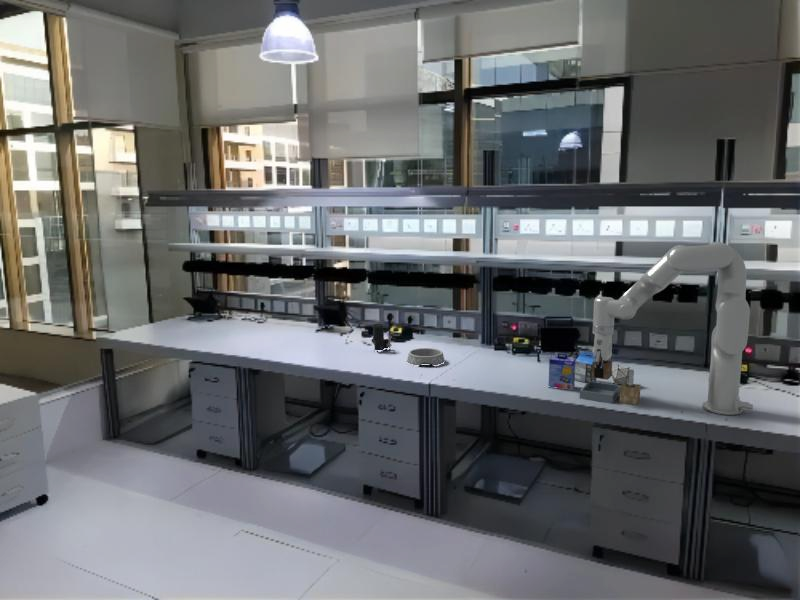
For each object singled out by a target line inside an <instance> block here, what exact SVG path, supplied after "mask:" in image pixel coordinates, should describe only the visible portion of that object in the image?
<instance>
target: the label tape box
mask: <svg viewBox="0 0 800 600" xmlns="http://www.w3.org/2000/svg"><path fill="white" fill-rule="evenodd" d="M578 352H579V353H578V357H577V358H575V381H576V382H581V383H586V384H587V383H588V382H589V381H593V382H597V378H592V362H593V361H594V360H595V359H594V357H593V353H594V352H590V351H589V352H588V351H584V350H579V351H578Z"/></svg>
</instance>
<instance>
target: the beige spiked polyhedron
mask: <svg viewBox="0 0 800 600" xmlns="http://www.w3.org/2000/svg"><path fill="white" fill-rule="evenodd" d="M630 368H631V367H630V366H628V367H624V366H620V365H619V364H617V367H616V368H614V369H613V370H612V376H611V377H612V380H613V383H612V384H613V385H620V386H621V385H622V384H623V383H628V370H629V369H630Z"/></svg>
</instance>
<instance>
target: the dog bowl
mask: <svg viewBox="0 0 800 600" xmlns="http://www.w3.org/2000/svg"><path fill="white" fill-rule="evenodd" d="M444 361H445V357H444V353H443V351H442V350H440V349H437V348H434V347H433V348H430V347H424V348H423V347H422V348H421V347H420V348H415V349H411V350H409V352H408V354H407V360H406V362H408V363H410V364H413V365H419V367H420V366H422V365H421V364H432V365H431V366H433V365H438V364H441V363H443V362H444ZM445 362H446V361H445Z"/></svg>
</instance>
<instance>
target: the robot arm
mask: <svg viewBox="0 0 800 600" xmlns="http://www.w3.org/2000/svg"><path fill="white" fill-rule="evenodd" d="M709 270H716V271H717V275H718V276H717V291H716V292H717V293H716V300H715V311H716V325H715V327H714V328H713V329H712V333H711V339H710V340H711V342H710V343H711V347H710V349H711V352H710V362H709V363H710V364H709V365H710V366H709V377H708V378H709V379H708V390H707V400H706V401H702V402H703V403H702V408H703V409H704V410H706V411H708V412H710V413H714V414H720V415H726V416H727V415H728V416H735V415H736V416H737V415H741V414H742V413H743V410H744V409H746V410H753V409H754V408H753V407H754V404H753V403H750V402H748V401H742V400H740V395H739V394H740V385H741V372H742V360H743V351H744V350H745V349H746V347H747V345H748V339H749V330H750V317H751V314H750V313H751V309H750V305H749V302H748V301H747V300H746V297H747V296H746V295H747V294H746V292H747V268H746V264H745V261H744V259H743V258H742V256H741V255H740V253H739V252H738V251H737V250H735V248H733V247H731V246H730V245H729V244H726V243H724V242H721V241H712V242H710V243H708V244H704V245H702V244H700V245H690V246H688V245H687V246H686V245H683V244H678V245H674V246H673V247H671V248H670V249H669V250H668V251H667V252H666V253H665V254H664V255H662V256H661V258H660V259H659V260H657V261H656V263H654V264H653V265H652V266H651V268H649V269H648V270H647V271H646V272H645V273H643V275H642V276H641V277H640V278H639V279H638V280H637V281H636V282H635V283H634V284H633V285H632V286H631V287H630V288H629V289H628V290H627V291H625V292H624V294H623V295H622V296H621V297H619V298H618V299H614V298H613V297H609V296H608V297H607V296H598V297H595V299H594V301H593V316H592V334H593V335H594V339H593V340H594V341H593V352H592V353H593V357H594V359H595V369H594V377H595V378H596V379H599V378H603V370H604V368H603V362H604V360H605V361H607V360H609V359H611V357H612V354H613V351H612V350H613V337H612V336H613V335H614V327H615V318H616V319H621V320H630V319H632V318H634V316H635V315H636V314H637V311H638V309H639V308H640V307H641V306H642V305H644V304H645V302H647V301H648V300H649V299H650V298H652V297H653V296H654V295H656V294H659V293H660V292H661V291H663V290H665V289H666V288H667V287H668V286H669V285H670V284H671V283H672V282H674V280H676V278H678V277H679V275H681V274H682V273H683V272H692V271H694V272H695V271H709ZM600 359H602V360H600Z"/></svg>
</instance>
